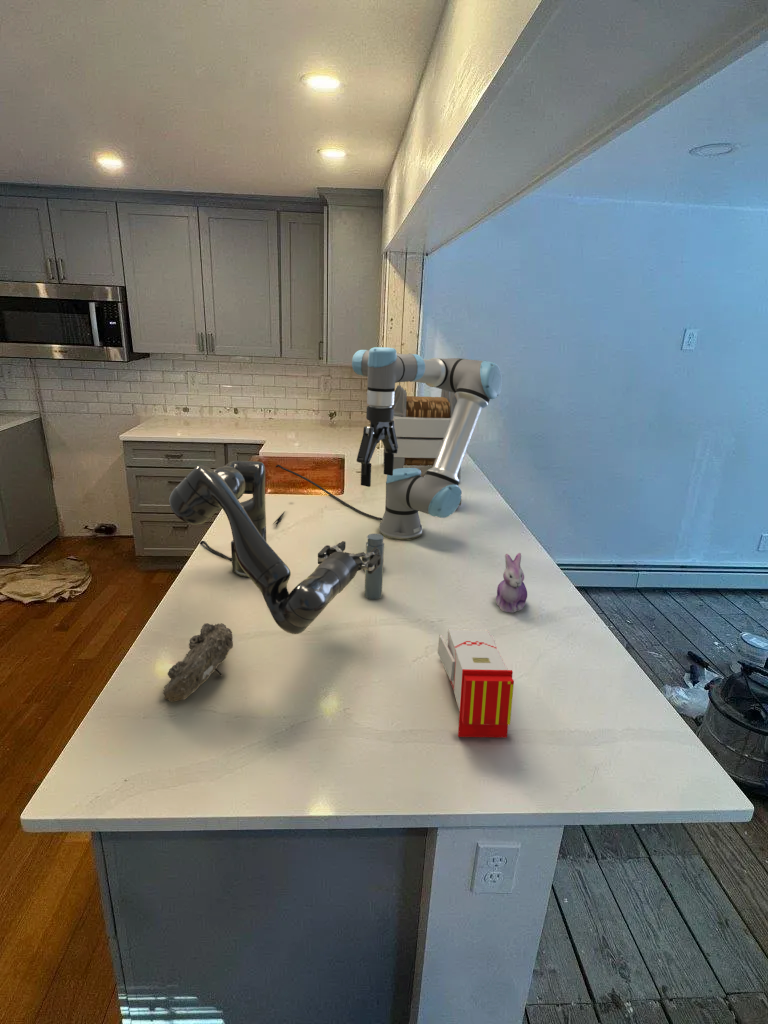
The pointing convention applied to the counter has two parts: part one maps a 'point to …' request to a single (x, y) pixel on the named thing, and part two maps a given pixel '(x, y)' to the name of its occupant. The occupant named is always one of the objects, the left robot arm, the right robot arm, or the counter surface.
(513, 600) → the figurine
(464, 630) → the toy
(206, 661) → the fossil
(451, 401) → the grey slatted crate
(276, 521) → the feather
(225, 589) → the counter surface
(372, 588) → the jar
